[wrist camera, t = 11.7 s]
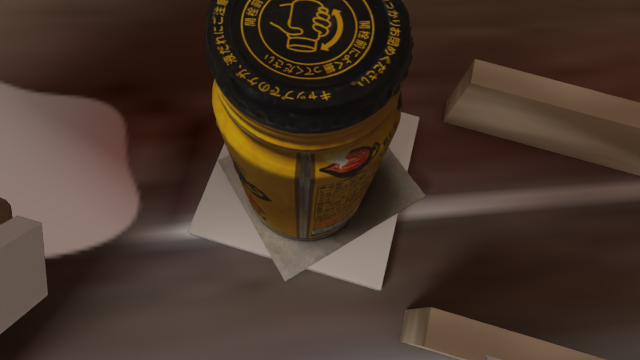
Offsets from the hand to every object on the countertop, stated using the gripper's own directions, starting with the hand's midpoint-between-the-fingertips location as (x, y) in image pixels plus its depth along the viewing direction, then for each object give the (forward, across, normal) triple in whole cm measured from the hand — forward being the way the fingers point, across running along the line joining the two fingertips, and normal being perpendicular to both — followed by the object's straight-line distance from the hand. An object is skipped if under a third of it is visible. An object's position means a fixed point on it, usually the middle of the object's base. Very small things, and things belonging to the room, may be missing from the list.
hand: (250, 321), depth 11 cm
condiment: (+11, 0, 0) cm, 11 cm away
